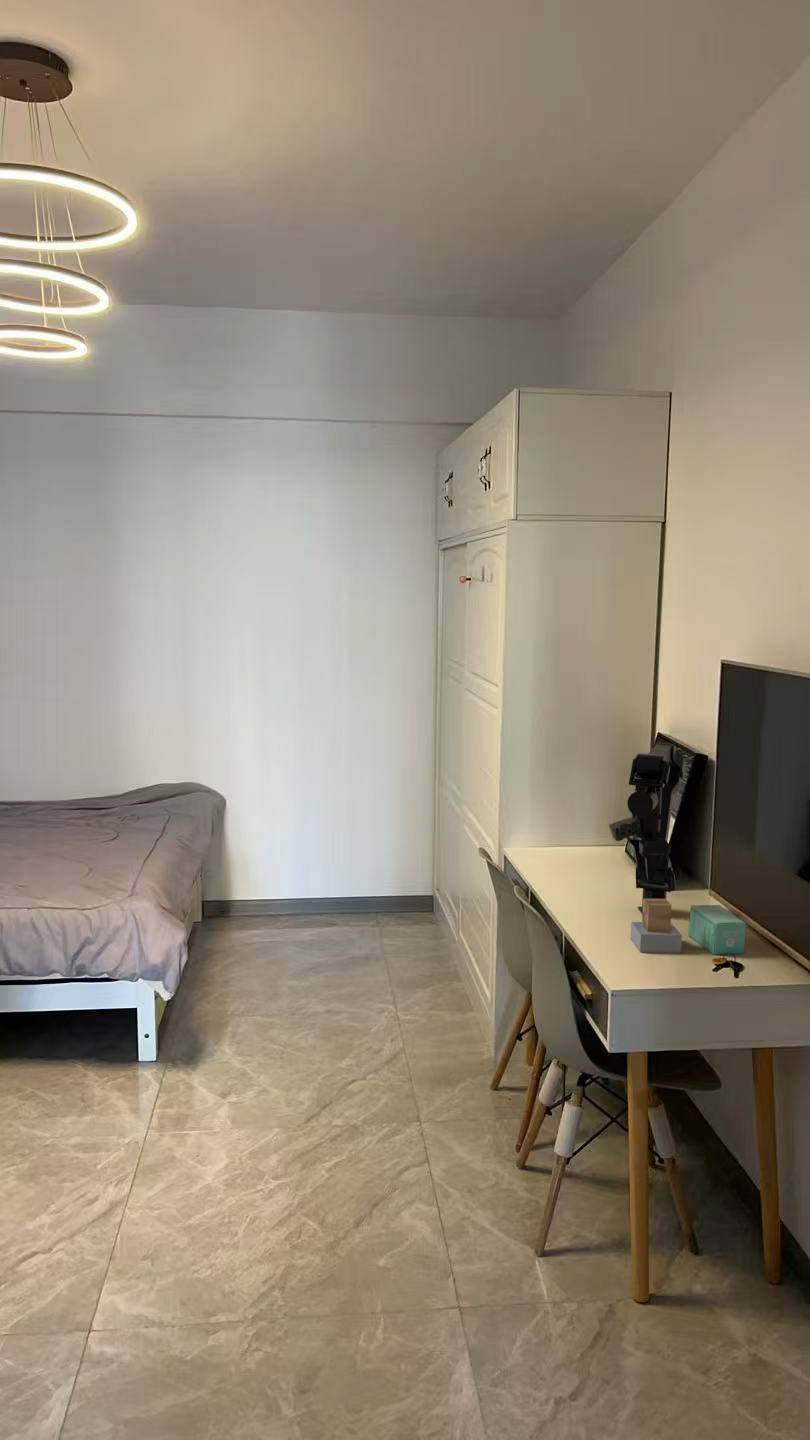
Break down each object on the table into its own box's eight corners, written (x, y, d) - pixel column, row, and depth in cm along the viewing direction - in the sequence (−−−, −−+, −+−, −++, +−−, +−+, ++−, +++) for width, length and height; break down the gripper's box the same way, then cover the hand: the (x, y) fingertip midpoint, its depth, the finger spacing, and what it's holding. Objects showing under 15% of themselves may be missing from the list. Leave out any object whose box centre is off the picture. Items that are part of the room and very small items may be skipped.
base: (630, 939, 245) (631, 921, 244) (669, 939, 245) (670, 922, 244) (640, 952, 236) (640, 934, 235) (681, 952, 236) (681, 935, 235)
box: (713, 956, 235) (715, 922, 234) (687, 936, 248) (689, 904, 247) (745, 955, 236) (747, 921, 235) (717, 935, 249) (719, 904, 248)
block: (641, 924, 242) (643, 898, 242) (664, 925, 242) (665, 898, 242) (647, 931, 237) (648, 905, 237) (670, 932, 237) (671, 905, 237)
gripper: (604, 800, 258) (601, 864, 260) (622, 816, 239) (619, 885, 241) (651, 800, 258) (648, 864, 260) (672, 817, 240) (669, 886, 241)
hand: (644, 874), depth 251 cm, fingers open, 9 cm apart
